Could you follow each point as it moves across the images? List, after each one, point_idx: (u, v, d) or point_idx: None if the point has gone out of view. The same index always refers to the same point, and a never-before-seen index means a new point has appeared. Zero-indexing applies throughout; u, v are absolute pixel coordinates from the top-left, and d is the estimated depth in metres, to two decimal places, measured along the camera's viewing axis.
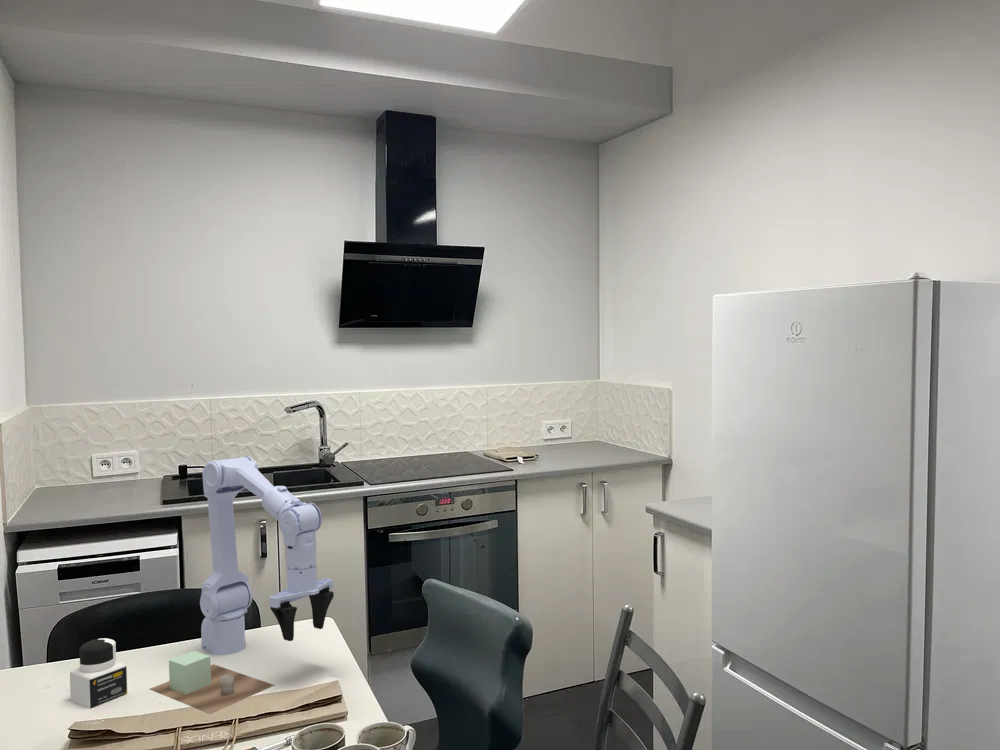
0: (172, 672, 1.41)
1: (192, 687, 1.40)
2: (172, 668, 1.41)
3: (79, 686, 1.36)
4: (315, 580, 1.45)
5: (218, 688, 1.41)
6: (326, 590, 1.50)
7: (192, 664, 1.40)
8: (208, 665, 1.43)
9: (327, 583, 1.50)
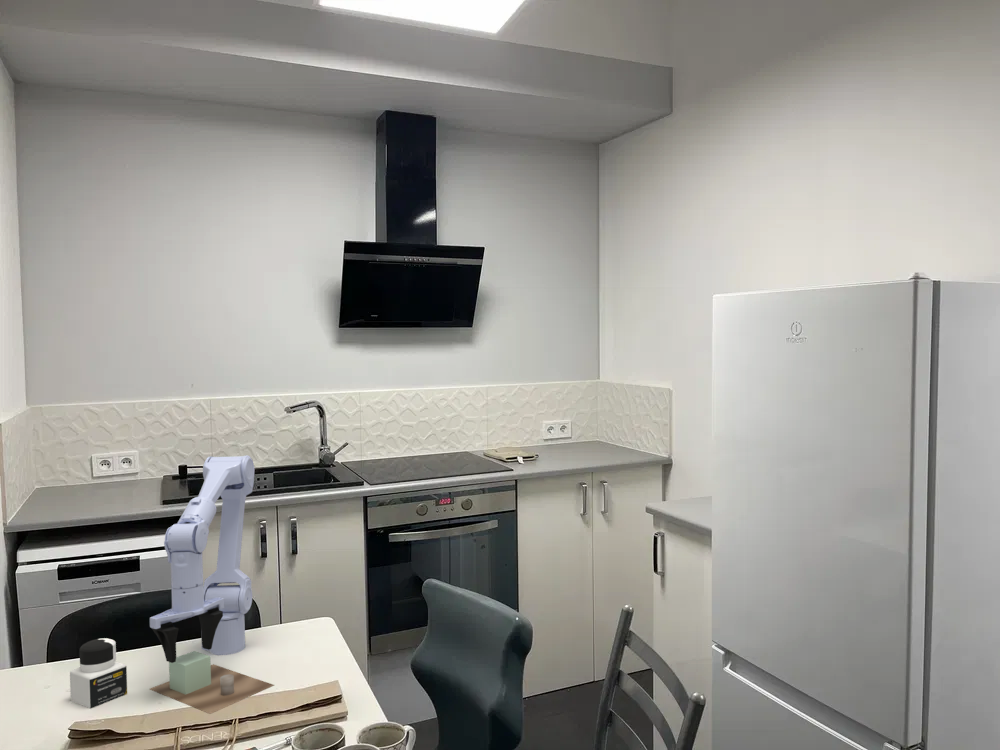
0: (172, 672, 1.41)
1: (192, 687, 1.40)
2: (172, 668, 1.41)
3: (79, 686, 1.36)
4: (201, 600, 1.42)
5: (218, 688, 1.41)
6: (215, 609, 1.47)
7: (192, 664, 1.40)
8: (208, 665, 1.43)
9: (216, 602, 1.46)
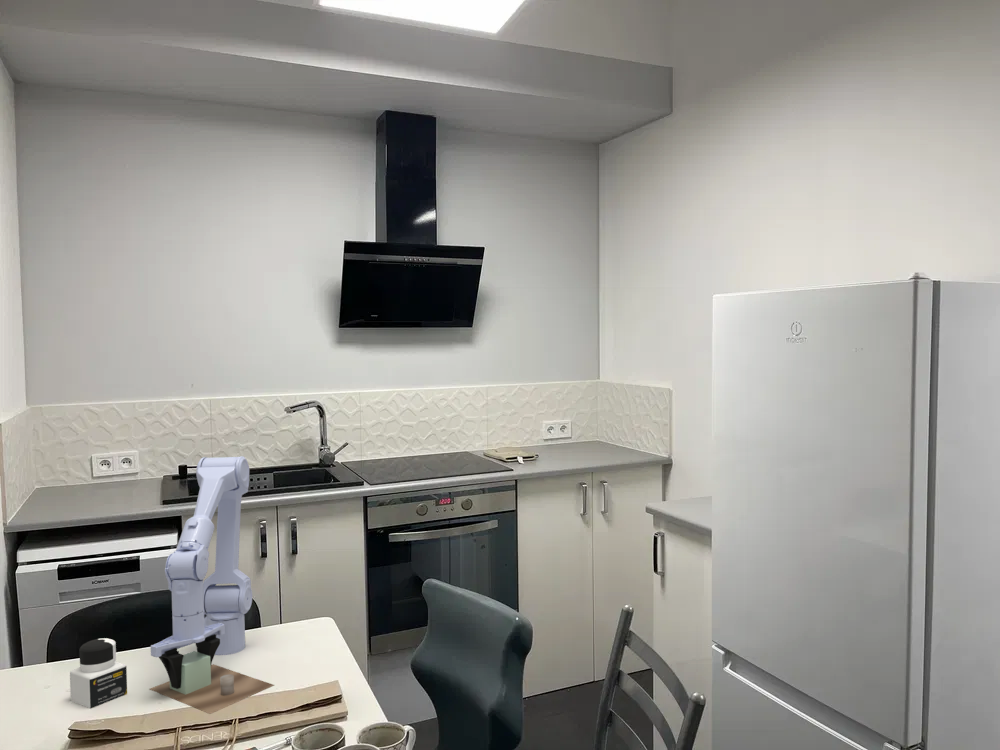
0: None
1: (192, 687, 1.40)
2: None
3: (79, 686, 1.36)
4: (201, 627, 1.42)
5: (218, 688, 1.41)
6: (213, 637, 1.46)
7: (192, 664, 1.40)
8: (208, 665, 1.43)
9: (217, 628, 1.46)
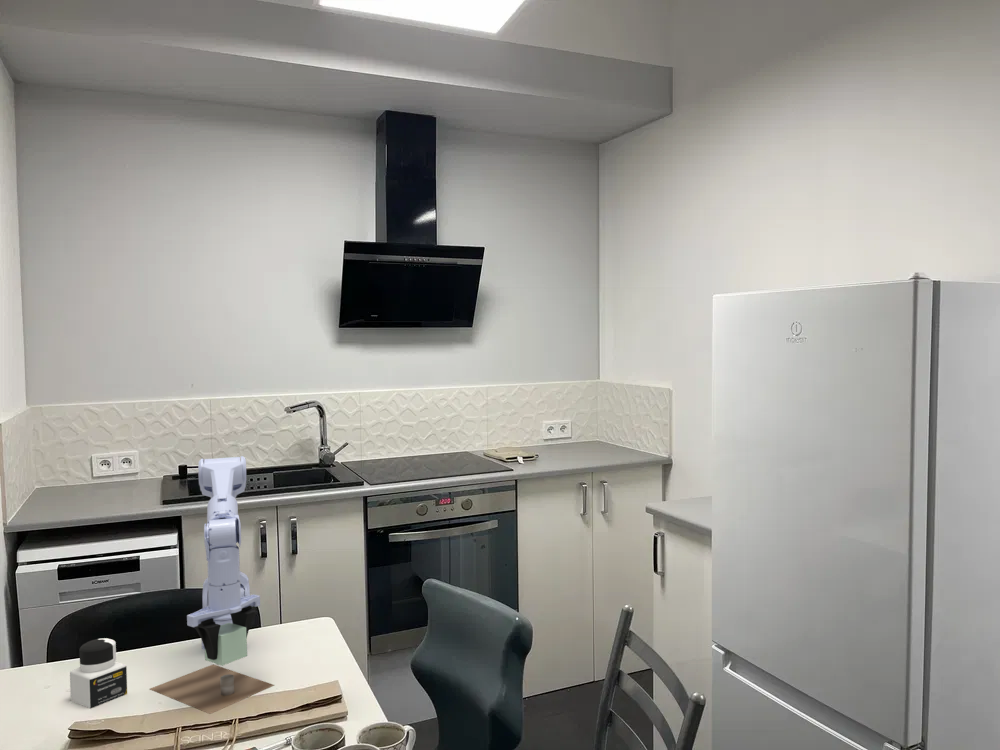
0: None
1: (228, 658, 1.36)
2: None
3: (79, 686, 1.36)
4: (238, 597, 1.39)
5: (218, 688, 1.41)
6: (248, 608, 1.42)
7: (228, 635, 1.37)
8: (244, 636, 1.39)
9: (253, 600, 1.43)
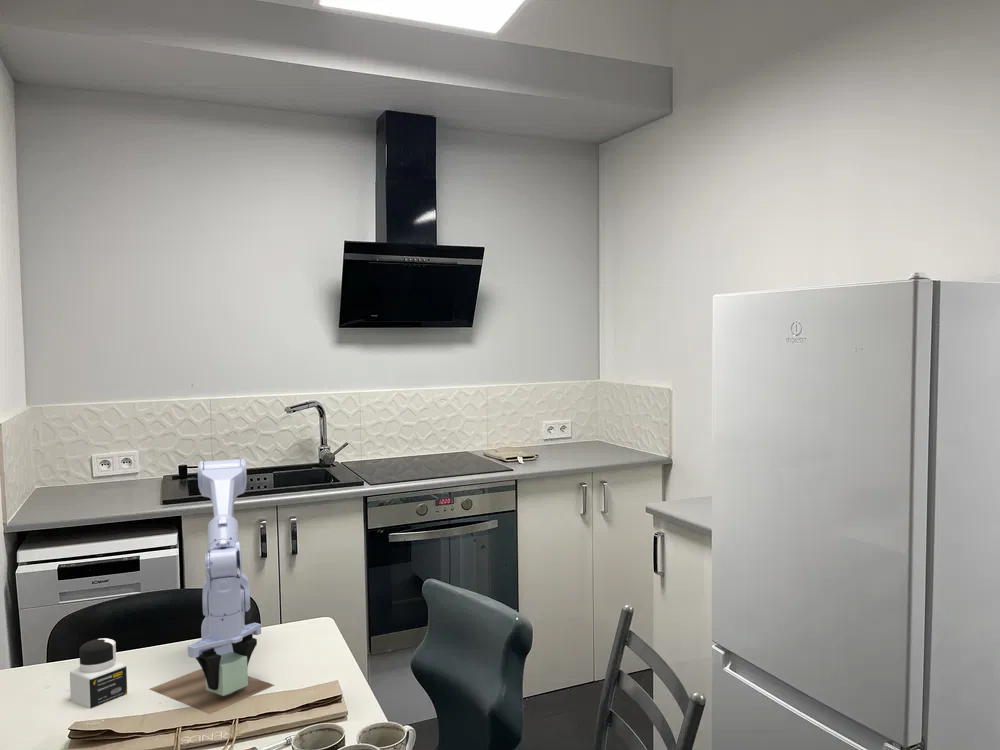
0: None
1: (229, 688, 1.37)
2: None
3: (79, 686, 1.36)
4: (239, 627, 1.39)
5: None
6: (249, 637, 1.42)
7: (229, 665, 1.37)
8: (245, 666, 1.39)
9: (254, 628, 1.43)
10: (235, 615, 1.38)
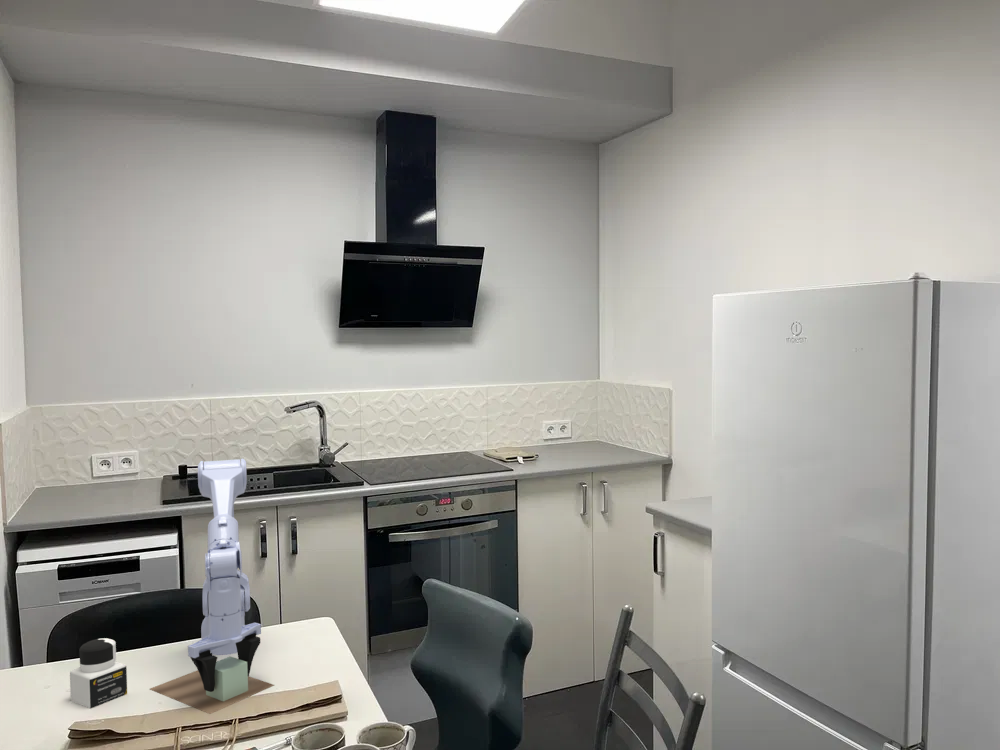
0: None
1: (229, 694, 1.36)
2: None
3: (79, 686, 1.36)
4: (239, 627, 1.39)
5: None
6: (253, 636, 1.43)
7: (229, 670, 1.37)
8: (245, 671, 1.39)
9: (254, 628, 1.43)
10: (235, 615, 1.38)
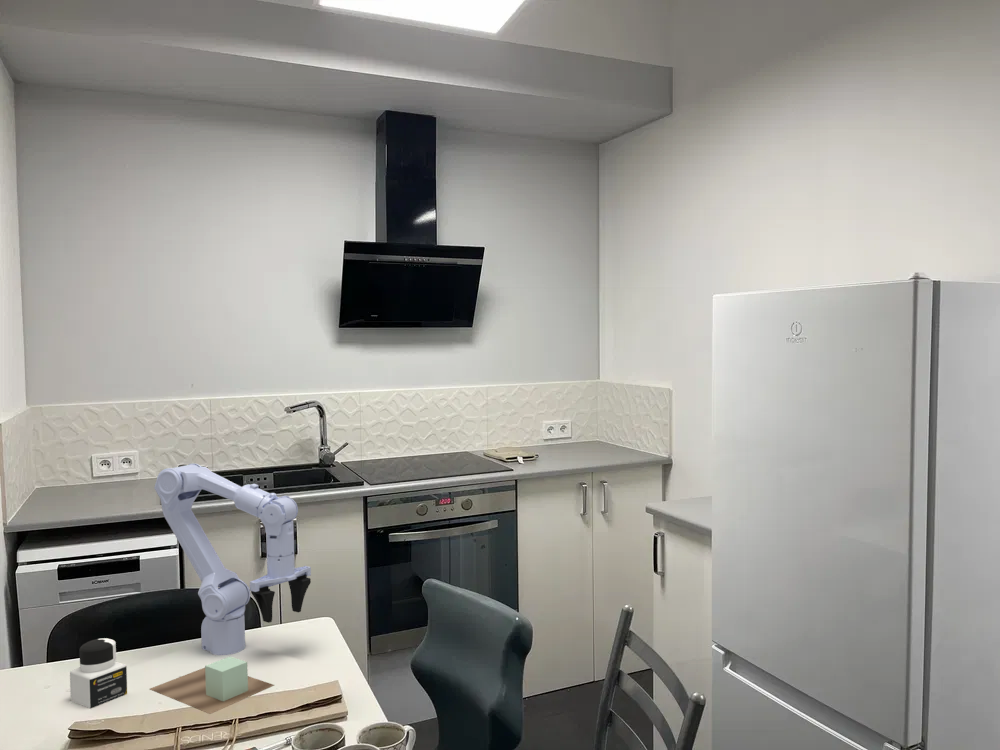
0: (209, 678, 1.38)
1: (229, 694, 1.36)
2: (209, 674, 1.38)
3: (79, 686, 1.36)
4: (292, 567, 1.58)
5: None
6: (304, 577, 1.63)
7: (229, 670, 1.37)
8: (245, 671, 1.39)
9: (305, 570, 1.62)
10: (289, 556, 1.57)
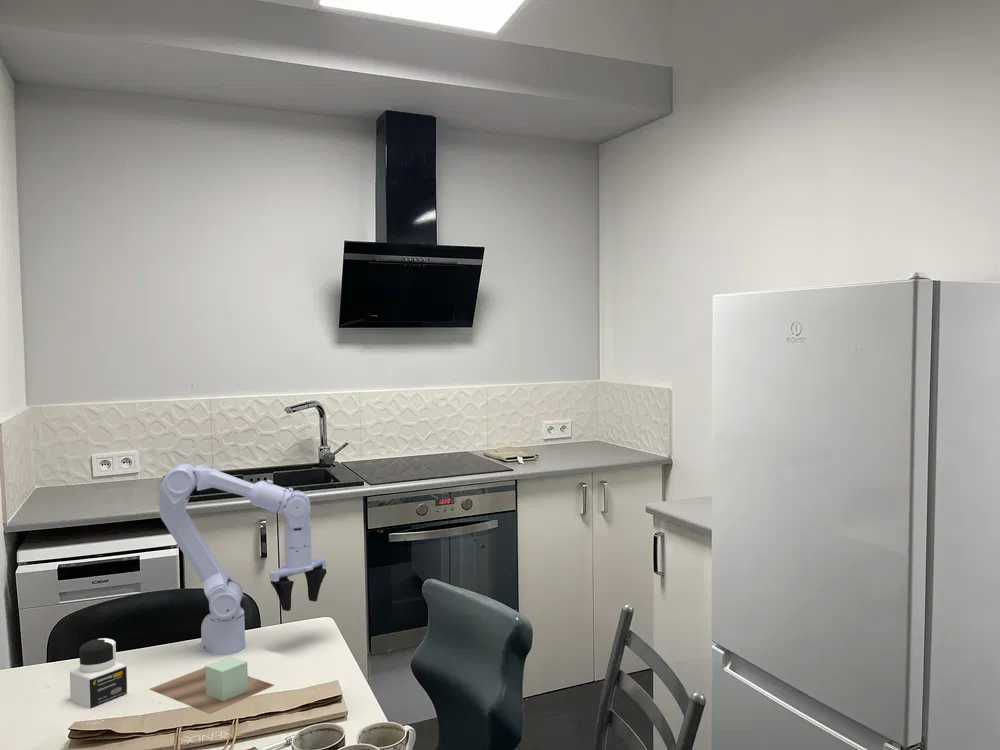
0: (209, 678, 1.38)
1: (229, 694, 1.36)
2: (209, 674, 1.38)
3: (79, 686, 1.36)
4: (310, 558, 1.66)
5: None
6: (320, 567, 1.70)
7: (229, 670, 1.37)
8: (245, 671, 1.39)
9: (320, 561, 1.70)
10: (307, 548, 1.65)
